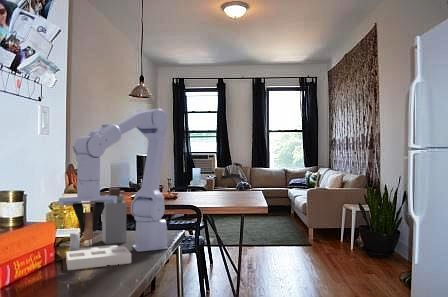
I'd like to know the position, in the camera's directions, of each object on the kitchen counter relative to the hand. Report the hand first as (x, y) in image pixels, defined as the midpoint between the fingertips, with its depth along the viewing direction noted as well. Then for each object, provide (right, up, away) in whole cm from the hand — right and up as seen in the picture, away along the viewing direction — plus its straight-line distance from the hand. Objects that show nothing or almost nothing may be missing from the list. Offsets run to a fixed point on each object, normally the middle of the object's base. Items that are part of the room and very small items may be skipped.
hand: (88, 231), depth 102 cm
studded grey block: (-2, -9, +12) cm, 15 cm away
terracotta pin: (0, -2, 0) cm, 2 cm away
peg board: (+2, -9, +3) cm, 10 cm away
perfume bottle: (-1, -10, +29) cm, 31 cm away
